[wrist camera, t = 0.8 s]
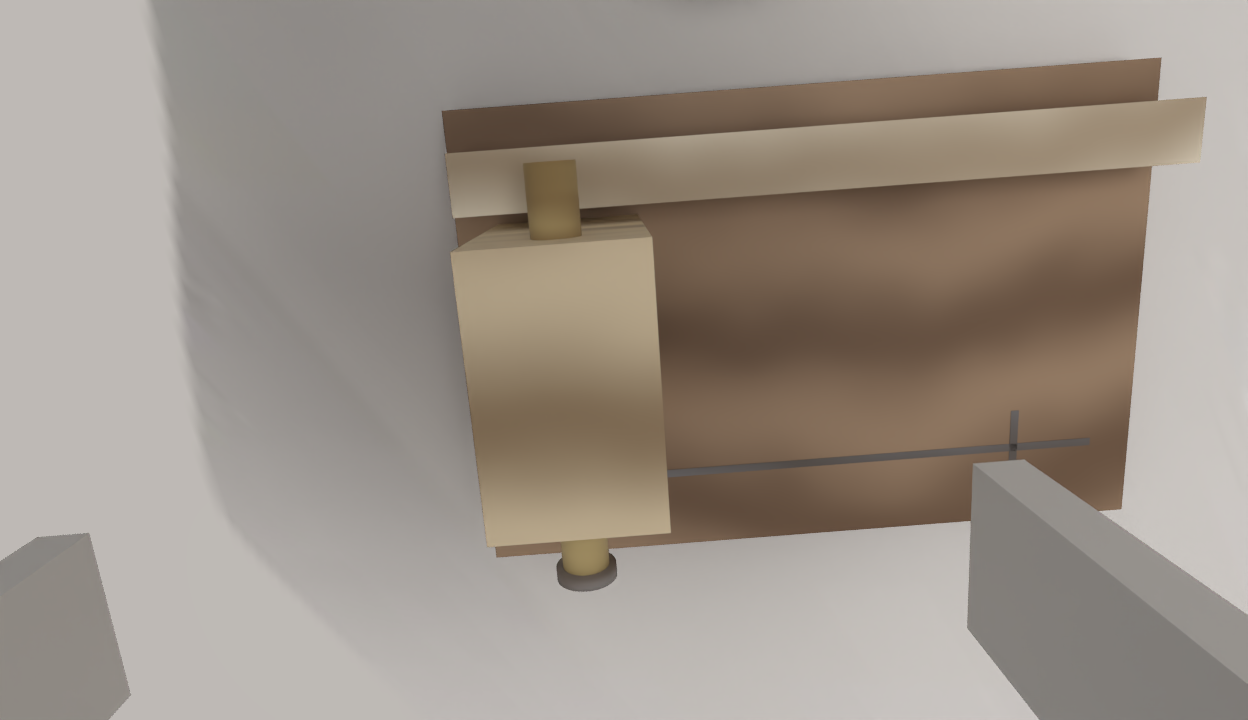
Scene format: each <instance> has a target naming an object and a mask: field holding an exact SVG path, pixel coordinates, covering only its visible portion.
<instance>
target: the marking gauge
mask: <svg viewBox="0 0 1248 720" xmlns="http://www.w3.org/2000/svg"><path fill="white" fill-rule="evenodd" d="M523 172H524V182H525V192H526V202H527V212H528V222H527V223H514V224H501V225H497V226H495V227H493V228H491V229H490V230H488V231H486V232H484V233H483V234H481V235H479V236H477V237H476V238H474V239H472V240H470V241H469V242H467V243H465V244H464V245H462V246H460V247H458V248H457V249H455V250H453V251H451V252H450V255H451V263H452V271H453V279H454V287H455V295H456V303H457V311H458V319H459V327H460V335H461V343H462V351H463V359H464V367H465V375H466V383H467V391H468V399H469V406H470V414H471V422H472V430H473V438H474V446H475V454H476V462H477V470H478V478H479V486H480V494H481V502H482V510H483V518H484V526H485V534H486V542H487V547H497V546H510V545H523V544H536V543H549V542H561V550H562V558H561V559H560V560H559V562H558V563H557V577H558V582H559V584H560V585H561V586H562V587H564V588H566V589H568V590H572V591H581V592H584V591H593V590H598V589H601V588H603V587H606V586H608V585H609V584H611V583H612V582H613V581H614V580H615V579H616V576H617V567H616V559H615V557H614V556H613V555H612V554H610V553H609V550H608V539H607V538H614V537H627V536H640V535H653V534H666V533H671V526H670V510H669V495H668V479H667V463H666V447H665V431H664V415H663V399H662V383H661V367H660V352H659V336H658V320H657V304H656V288H655V272H654V256H653V240H652V236H651V234H650V233H649V231H648V230H647V228H646V227H645V225H644V224H643V222H642V220H641V219H640V217H639V216H638V214H634V215H621V216H607V217H594V218H581V219H580V208H579V196H578V184H577V172H576V160H575V159H574V160H559V161H545V162H532V163H523Z"/></svg>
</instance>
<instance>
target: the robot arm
mask: <svg viewBox="0 0 1248 720" xmlns="http://www.w3.org/2000/svg"><path fill="white" fill-rule="evenodd" d="M967 628H968V630H969V631H970V632H971V633H972V635H973V636H974V637H975V638H976V640H977V641H978V642H979V644H980V645H981V646H982V647H983V649H984V650H985V651H986V652H987V654H988V655H989V656H990V657H991V659H992V660H993V661H994V663H995V664H996V665H997V666H998V668H999V669H1000V670H1001V671H1002V673H1003V674H1004V675H1005V677H1006V678H1007V679H1008V680H1009V682H1010V683H1011V684H1012V685H1013V687H1014V688H1015V689H1016V690H1017V692H1018V693H1019V694H1020V696H1021V697H1022V698H1023V699H1024V701H1025V702H1026V703H1027V704H1028V706H1029V707H1030V708H1031V709H1032V711H1033V712H1034V713H1035V715H1036V716H1037V717H1038V718H1039V720H1248V615H1247V614H1245V613H1244V612H1243V611H1241V610H1240V609H1238V608H1237V607H1235V606H1234V605H1233V604H1231V603H1230V602H1228V601H1227V600H1225V599H1224V598H1222V597H1221V596H1220V595H1218V594H1217V593H1215V592H1214V591H1212V590H1211V589H1210V588H1208V587H1207V586H1205V585H1204V584H1202V583H1201V582H1199V581H1198V580H1197V579H1195V578H1194V577H1192V576H1191V575H1189V574H1188V573H1187V572H1185V571H1184V570H1182V569H1181V568H1179V567H1178V566H1176V565H1175V564H1174V563H1172V562H1171V561H1169V560H1168V559H1166V558H1165V557H1164V556H1162V555H1161V554H1159V553H1158V552H1156V551H1155V550H1153V549H1152V548H1151V547H1149V546H1148V545H1146V544H1145V543H1143V542H1142V541H1141V540H1139V539H1138V538H1136V537H1135V536H1133V535H1132V534H1130V533H1129V532H1128V531H1126V530H1125V529H1123V528H1122V527H1120V526H1119V525H1118V524H1116V523H1115V522H1113V521H1112V520H1110V519H1109V518H1107V517H1106V516H1105V515H1103V514H1102V513H1100V512H1099V511H1097V510H1096V509H1095V508H1093V507H1092V506H1090V505H1089V504H1087V503H1086V502H1084V501H1083V500H1082V499H1080V498H1079V497H1077V496H1076V495H1074V494H1073V493H1072V492H1070V491H1069V490H1067V489H1066V488H1064V487H1063V486H1061V485H1060V484H1059V483H1057V482H1056V481H1054V480H1053V479H1051V478H1050V477H1049V476H1047V475H1046V474H1044V473H1043V472H1041V471H1040V470H1038V469H1037V468H1036V467H1034V466H1033V465H1031V464H1030V463H1028V462H1027V461H1026V460H1011V461H999V462H986V463H973V475H972V504H971V533H970V562H969V591H968V621H967ZM130 695H131V694H130V690H129V686H128V682H127V678H126V675H125V670H124V666H123V663H122V659H121V655H120V651H119V647H118V643H117V639H116V636H115V632H114V628H113V624H112V620H111V616H110V613H109V609H108V604H107V601H106V597H105V593H104V589H103V585H102V581H101V577H100V574H99V570H98V566H97V562H96V558H95V555H94V550H93V547H92V542H91V539H90V535H89V533H86V534H85V533H84V534H72V535H60V536H46V537H37V538H35V539H34V540H32V541H31V542H29V543H28V544H26V545H24V546H23V547H21V548H20V549H18V550H17V551H15V552H14V553H12V554H11V555H9V556H8V557H6V558H5V559H3V560H1V561H0V720H109V719H110V717H111V716H112V715H113V714H114V713H115V712H116V711H117V710H118V708H120V706H121V705H122V704H123V703H124V702H125V701H126V700H127V699H128V697H129V696H130Z"/></svg>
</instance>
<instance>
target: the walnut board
mask: <svg viewBox="0 0 1248 720" xmlns="http://www.w3.org/2000/svg"><path fill="white" fill-rule="evenodd" d="M1160 68H1161V58H1150V59H1137V60H1123V61H1110V62H1096V63H1083V64H1069V65H1056V66H1042V67H1029V68H1015V69H1002V70H988V71H975V72H961V73H948V74H934V75H921V76H907V77H894V78H880V79H867V80H853V81H840V82H826V83H813V84H799V85H786V86H772V87H759V88H745V89H732V90H718V91H705V92H691V93H678V94H664V95H651V96H637V97H623V98H610V99H596V100H583V101H569V102H556V103H542V104H529V105H515V106H502V107H488V108H475V109H461V110H448V111H442V117H443V125H444V133H445V141H446V149H447V153H446V154H445V160H446V169H447V177H448V185H449V193H450V201H451V209H452V217H453V218H455V222H456V231H457V239H458V247H460V246H462V245H464V244H465V243H467V242H469V241H470V240H472V239H474V238H476V237H477V236H479V235H481V234H483V233H484V232H486V231H488V230H490V229H491V228H493V227H495V226H497V225H501V224H514V223H527V222H528V212H527V202H526V192H525V182H524V172H523V163H532V162H545V161H559V160H574V159H575V160H576V172H577V184H578V196H579V208H580V219H581V218H594V217H607V216H621V215H634V214H638V216H639V217H640V219H641V220H642V222H643V224H644V225H645V227H646V228H647V230H648V231H649V233H650V234H651V236H652V240H653V256H654V272H655V288H656V304H657V320H658V336H659V352H660V367H661V383H662V399H663V415H664V431H665V447H666V463H667V479H668V495H669V510H670V526H671V533H666V534H653V535H640V536H627V537H614V538H607V539H608V549H612V548H625V547H638V546H651V545H664V544H677V543H690V542H703V541H716V540H729V539H741V538H754V537H767V536H780V535H793V534H806V533H819V532H832V531H845V530H858V529H871V528H884V527H897V526H910V525H923V524H935V523H948V522H961V521H971V504H972V475H973V463H986V462H999V461H1011V460H1026V461H1027V462H1028V463H1030V464H1031V465H1033V466H1034V467H1036V468H1037V469H1038V470H1040V471H1041V472H1043V473H1044V474H1046V475H1047V476H1049V477H1050V478H1051V479H1053V480H1054V481H1056V482H1057V483H1059V484H1060V485H1061V486H1063V487H1064V488H1066V489H1067V490H1069V491H1070V492H1072V493H1073V494H1074V495H1076V496H1077V497H1079V498H1080V499H1082V500H1083V501H1084V502H1086V503H1087V504H1089V505H1090V506H1092V507H1093V508H1095V509H1096V510H1097V511H1104V510H1117V509H1121V507H1122V496H1123V484H1124V473H1125V462H1126V451H1127V439H1128V428H1129V417H1130V406H1131V394H1132V383H1133V372H1134V361H1135V349H1136V338H1137V327H1138V316H1139V304H1140V293H1141V282H1142V271H1143V259H1144V248H1145V237H1146V226H1147V214H1148V203H1149V192H1150V181H1151V169H1152V166H1158V165H1172V164H1185V163H1199V162H1200V157H1201V147H1202V137H1203V127H1204V118H1205V108H1206V98H1207V97H1200V98H1186V99H1173V100H1159V101H1158V90H1159V79H1160ZM495 548H496V556H497V557H509V556H522V555H535V554H547V553H560V552H562V550H561V542H549V543H536V544H523V545H510V546H497V547H495Z"/></svg>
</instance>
